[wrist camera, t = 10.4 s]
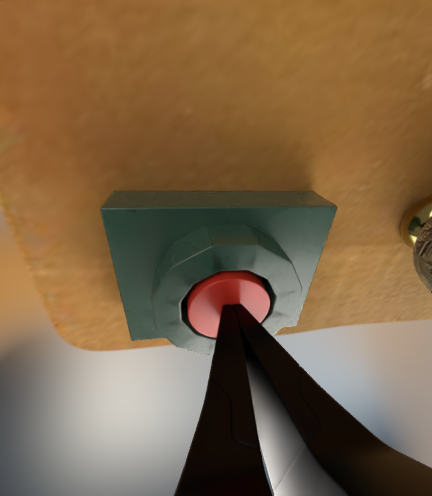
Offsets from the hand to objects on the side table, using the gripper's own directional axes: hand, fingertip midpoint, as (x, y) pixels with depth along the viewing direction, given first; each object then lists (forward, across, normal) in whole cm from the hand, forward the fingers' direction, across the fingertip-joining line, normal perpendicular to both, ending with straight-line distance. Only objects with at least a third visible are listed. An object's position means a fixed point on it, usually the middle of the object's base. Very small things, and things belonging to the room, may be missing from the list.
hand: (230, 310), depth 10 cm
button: (+2, 0, 0) cm, 2 cm away
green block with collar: (+4, 0, 0) cm, 4 cm away
